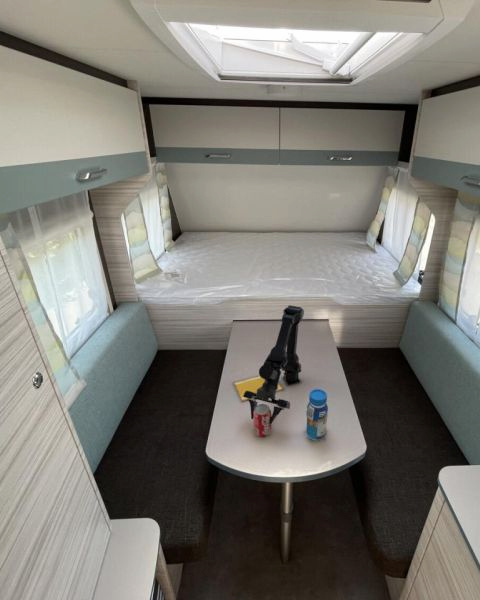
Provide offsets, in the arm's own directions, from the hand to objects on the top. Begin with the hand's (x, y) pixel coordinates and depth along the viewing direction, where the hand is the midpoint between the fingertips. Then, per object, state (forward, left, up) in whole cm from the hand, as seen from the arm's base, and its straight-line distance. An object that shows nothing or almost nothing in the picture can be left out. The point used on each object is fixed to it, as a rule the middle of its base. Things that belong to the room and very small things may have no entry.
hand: (261, 421), depth 129 cm
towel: (-8, -29, -7) cm, 30 cm away
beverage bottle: (-20, +8, -7) cm, 23 cm away
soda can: (-1, -1, -7) cm, 7 cm away
